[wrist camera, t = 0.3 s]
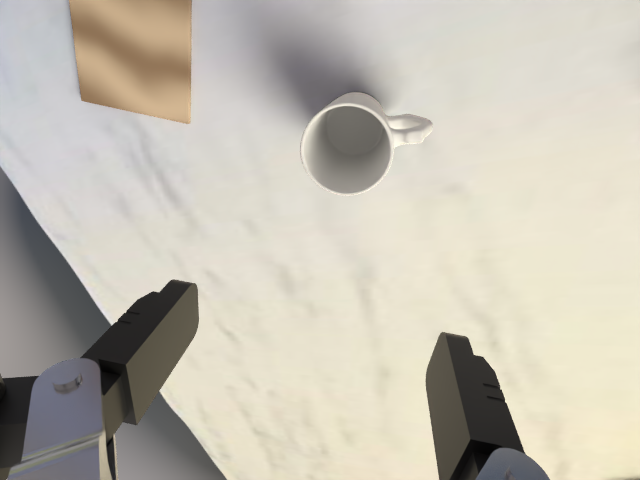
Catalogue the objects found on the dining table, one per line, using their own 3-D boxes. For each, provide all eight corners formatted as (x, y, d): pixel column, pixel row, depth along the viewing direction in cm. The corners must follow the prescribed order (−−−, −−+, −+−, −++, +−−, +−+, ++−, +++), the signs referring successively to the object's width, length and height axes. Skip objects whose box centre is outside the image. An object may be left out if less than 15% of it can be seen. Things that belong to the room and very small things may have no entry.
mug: (328, 161, 39) (309, 200, 28) (316, 95, 36) (291, 111, 25) (424, 147, 37) (443, 183, 26) (420, 76, 34) (439, 85, 23)
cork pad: (69, -34, 34) (64, -35, 33) (191, -9, 33) (188, -10, 33) (85, 100, 40) (81, 100, 39) (190, 123, 39) (187, 123, 39)
